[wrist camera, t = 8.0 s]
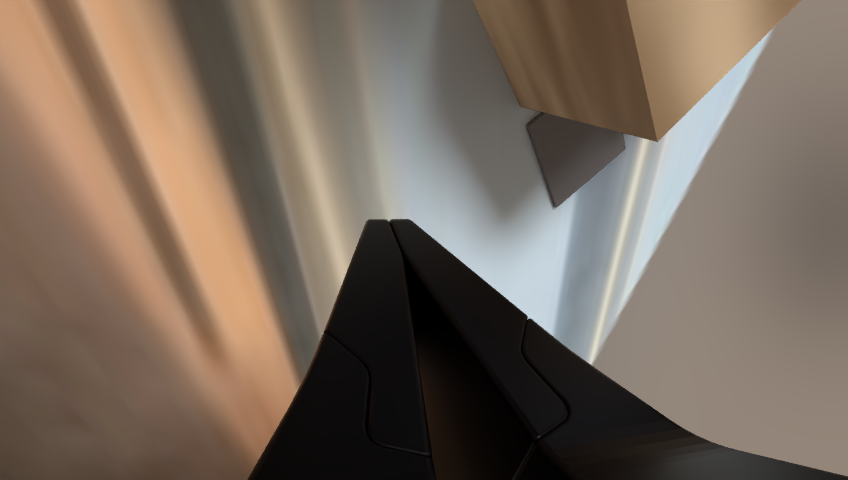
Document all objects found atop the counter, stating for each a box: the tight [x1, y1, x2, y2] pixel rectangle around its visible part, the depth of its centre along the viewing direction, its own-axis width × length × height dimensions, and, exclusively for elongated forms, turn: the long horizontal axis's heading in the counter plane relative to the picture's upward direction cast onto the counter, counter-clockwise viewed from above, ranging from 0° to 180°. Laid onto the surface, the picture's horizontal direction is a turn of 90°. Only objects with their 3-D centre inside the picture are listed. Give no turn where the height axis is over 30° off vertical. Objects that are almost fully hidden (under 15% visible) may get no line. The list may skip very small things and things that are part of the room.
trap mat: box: [527, 112, 626, 208], centre depth 25 cm, size 6×6×1 cm
